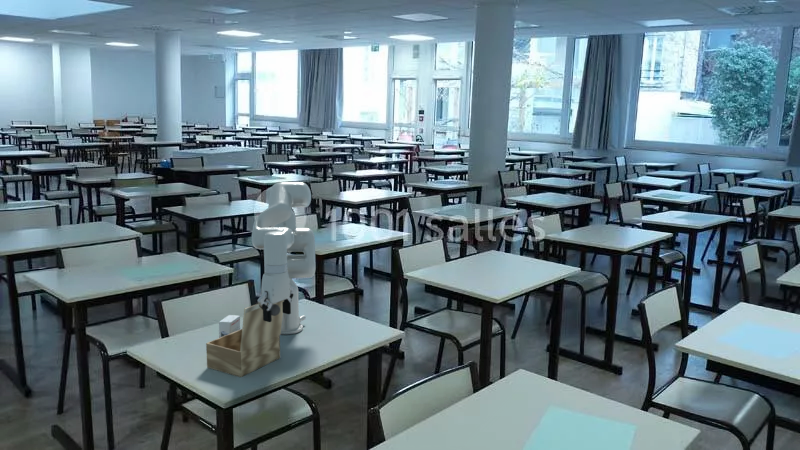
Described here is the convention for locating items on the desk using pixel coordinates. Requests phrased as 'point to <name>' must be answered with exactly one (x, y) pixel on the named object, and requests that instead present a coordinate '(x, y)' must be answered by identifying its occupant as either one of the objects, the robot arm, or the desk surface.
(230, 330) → the ink box
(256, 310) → the wooden box lid
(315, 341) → the desk surface
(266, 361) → the wooden box
